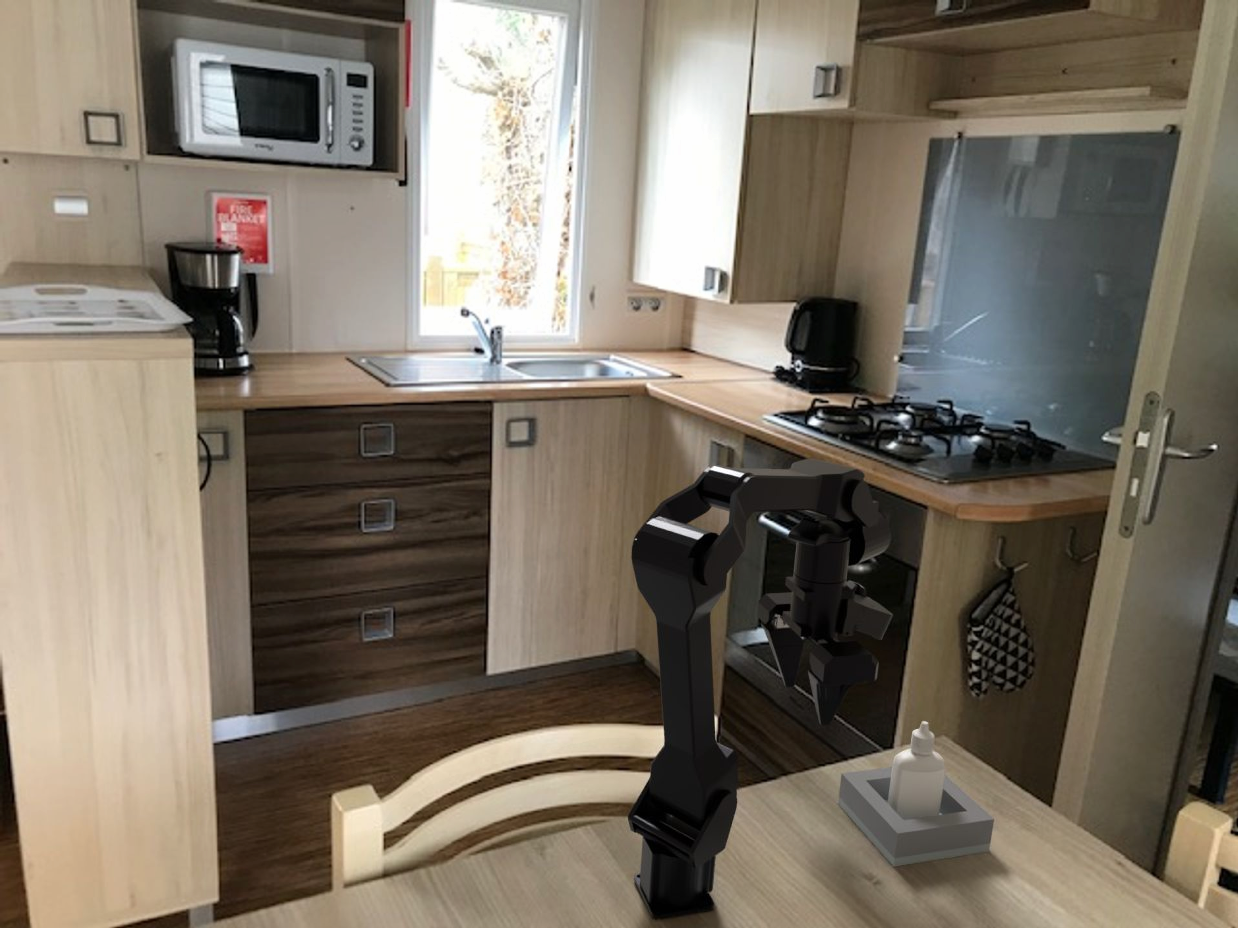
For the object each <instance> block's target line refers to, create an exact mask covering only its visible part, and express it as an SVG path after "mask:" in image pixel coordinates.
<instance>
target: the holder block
mask: <svg viewBox="0 0 1238 928" xmlns="http://www.w3.org/2000/svg"><path fill="white" fill-rule="evenodd" d="M892 767H893V766H890V767H889V766H887V767H881V768H873V769H866V770H865V769H864V770H857V771H850V772H842V773H841V775H840V782H839V783H840V784H839V791H838V792H839V793H838V802H837V804H838V805H839V807H840V808H841V809H842V810H843V811H844V812H845V814H846V815H847V816H848V817H849V818H850V819H851V820H852V821H853V823H854V824H855V825H856V826H857V827H858V828H859V829H860V831H861V832H862V833H863V834H864V836H866V837H867V839H868V840H869V841H870V842H871V843H872V844H873V845H874V847H875V848H876V849H877V850H878V852H880V853H881V855H883V857H884V858H885V859H886V860H887V862H889V863H890V865H891V866H892V867H898V866H905V865H912V864H919V863H924V862H930V861H938V860H943V859H944V860H945V859H951V858H956V857H962V856H969V855H974V854H981V853H988V852H990V849H991V841H992V835H993V830H994V825H995V824H994V822H995V818H993V817H992V815H991V814H989V813H988V812H987V811H986V810H985V809H984V808H983V807H981V805H979V803H977V802H976V801H975V800H974V799H973V798H971V797H970V795H969V794H967V793H966V792H965V791H964V790H963V789H961V787H960V786H958V785H957V784H956V783H955V781H954V782H953V780H951V778H949V777H948V776H947V775H946V774H945V778H944V785H943V792H942V799H941V806H940V813H939V815H937V816H930V817H923V818H916V819H909V820H903V819H902V818H901V817H900V816H899V815H898V814H897V813H896V812H895V811H894V810H893V808H892V807H891V806H890V805H889V804H888V797H889V789H890V782H891V774H892Z"/></svg>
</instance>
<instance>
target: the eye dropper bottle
mask: <svg viewBox="0 0 1238 928" xmlns="http://www.w3.org/2000/svg"><path fill="white" fill-rule="evenodd" d="M929 727H930V726H929V722H927V721H926V720H922V721H921V723H920V726H919V728H917V729H914V730H912V733H911V740H910V748H907V749H904V750H903V751H901V752H900V751H899V752H898V753H897V754H896V755H895V756H894V758H893V762H892V766H891V767H892V774H891V782H890V789H889V797H888V804H889V805H890V806H891V807H892V808H893V810H894V811H895V812H896V813H897V814H898V815H899V816H900V817H901V818H902V819H903V820H909V819H916V818H923V817H930V816H937V815H939V813H940V806H941V799H942V792H943V785H944V778H945V775H946V766H947V765H946V761H945V760H944V757H942V756H941V755H940V754H939V753H938V752H937V751H934V745H935V739H936V738H935V737H936V736H935V733H933V732H932V731H930V728H929Z"/></svg>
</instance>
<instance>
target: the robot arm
mask: <svg viewBox="0 0 1238 928" xmlns="http://www.w3.org/2000/svg"><path fill="white" fill-rule="evenodd" d="M865 476H866V475H865V473H864V471H863V470H861V469H859V468H856V467H852V466H846V465H841V464H837V463H834V462H829V461H824V460H821V459H816V458H811V457H810V458H805V459H802V460H798V461H795V462H792V464H791V466H790V468H786V469H785V468H783V469H782V468H750V467H749V468H748V467H744V468H743V467H728V466H726V465H721V464H716V465H711V466H708V467H706V468H705V469H704V470H703V471H702V472H701V474H700V475H699V476H698V477H697V479H696V480H695V481H694V483H692V484H691V485H689V486H687V487H685V488H683V489H682V490H680V491H677V492H676V493H675V494H673V495H671V496H669V497H668V498H666V499H664V500H663V501H661V502H660V503H659V505H658V506H657V507H656V508H655V509H654V510H653V512H652V513H651V514H650V516H649V517H648V518H647V519H646V521H645V522H644V523H643V524H642V526H641V527H640V528H639V529H638V531H637V533H636V534H635V536H634V538H633V540H632V544H631V554H630V555H631V563H632V568H633V572H634V577H635V581H636V586H637V589H638V591H639V593H640V594H641V595H642V597H643V599H644V600H645V601H646V603H647V605H648V606H649V608H650V610H651V612H653V614H654V616H655V619H656V621H655V624H656V635H657V650H658V651H657V652H658V653H657V654H658V664H659V680H660V681H659V682H660V694H661V695H660V696H661V697H660V698H661V709H662V724H663V746H662V747H661V748H660V750H659V751H658V752H657V754H656V756H655V757H654V758H653V760H652V761H651V763H650V771H649V772H650V773H649V774H650V775H649V778H648V780H647V782H646V783H645V784H644V787H643V789H642V790H641V792H640V794H639V796H638V797H637V799H636V800H635V802H634V804H633V806H632V808H631V809H630V812H629V813H628V815H627V821H628V826H629V828H630V831H631V832H633V833H634V834H636V833H637V834H638V835H640V836H641V837H642V843H641V844H642V845H641V859H640V872H636V873H634V875H633V880H634V882H635V885H636V886H637V889H638V891H639V893H640V895H641V897H642V899H643V901H644V903H645V906H646V907H647V910H648V912H649V914H650V915H651V917H652V918H653V919H655V920H656V919H657V920H658V919H664V918H665V919H666V918H671V917H677V916H678V917H679V916H682V915H684V916H685V915H688V914H695V913H702V912H707V911H712V910H715V907H716V906H715V901H714V899H713V897H712V896H711V895H710V893H711V892H713V890H714V882H715V881H714V880H715V870H716V856H717V855H719V854H720V853H722V851H724V850H725V849H726V846H727V842H728V839H729V836H730V832H731V829H732V825H733V821H734V819H735V815H736V812H737V807H738V798H737V797H738V790H737V788H738V787H741V782H740V780H739V775H738V774H739V773H738V771H739V770H738V769H739V757H738V754H737V751H736V750H734V749H732V748H730V747H728V746H726V745H724V744H722V743H720V742H717V737H716V720H715V719H716V718H715V717H716V716H715V694H714V676H713V675H714V674H713V673H714V672H713V651H712V629H711V628H712V627H711V625H712V624H711V613H712V610H713V609H714V607H715V606H716V604H717V603H718V601H719V600H720V599H721V597H722V595H723V594H724V593H725V592H726V589H727V579H728V573H729V572H730V571H731V569H732V568H733V566H734V564H735V563H736V562H737V561H738V559H739V558H740V557H741V555H742V554H743V552H744V551H745V548H746V540H747V539H746V537H747V524H748V523H747V522H748V520H749V519H750V518H751V516H752V515H753V513H756V512H757V513H759V512H760V513H763V512H793V511H797V512H798V511H800V512H801V511H804V512H808V513H812V514H816V515H820V516H823V517H826V519H825V518H818V519H815V520H814V519H812V518H806V517H802V518H801V519H800V521H799V522H798V524H796V525H795V526H793V527H792V528H791V529H790V530H789V532H788V534H787V539H789V540H791V541H793V542H794V541H795V542H796V548H795V554H794V555H795V557H794V564H793V567H794V568H793V576H786V577H785V583H784V584H785V587H787V588H788V589H789V590H790V591H791V592H774V593H765V594H764V595H763V596H762V597H761V598H760V599H759V600H758V601H757V608H756V609H757V611H756V617H757V618H759V620H760V621H761V622H760V624H761V625H760V626H761V628H762V629H763V631H764V633H765V637H766V639H767V641H768V643H769V647H770V648H771V650H772V654H773V657H774V659H775V662H776V665H777V668H778V671H779V673H780V675H781V676H780V677H781V679H782V681H783V684H784V686H785V687H786V688H793V687H795V685H796V682H797V678H798V675H799V670H800V665H801V661H802V657H803V656H802V655H803V651H804V645H805V643H806V641H808V642H810V644H811V645H813V646H814V648H813V649H812V650H811V651H810V653H809V665H810V669H809V670H807V673H808V674H807V675H808V678H809V679H808V680H809V683H810V687H811V693H812V697H813V701H814V705H815V706H814V707H815V711H816V715H817V718H818V722H819V725H820V726H822V727H823V726H830V725H831V723H832V722H833V720H834V718H835V715H836V714H837V712H838V710H839V708H840V707H841V705H842V703H843V701H844V698H845V697H846V695H847V694H848V692H850V689H851V688H852V687H854V686H855V685H856V684H865V683H866V682H874V681H876V680H877V678H878V671H879V660H878V659H877V658H876V657H875V655H874V654H872V653H871V652H870V651H869V650H868V649H867V648H865V647H864V646H863V645H862V644H861V643H860V642H858V641H857V640H852V641H851V640H850V641H848V640H847V641H839V639H838V636H839V635H841V636H843V637H849V636H850V637H852V636H854V631H856V632H859V633H862V634H865V635H869V636H872V637H873V638H874V639H876V640H877V641H878V640H880V641H881V640H883V637H884V635H885V634H886V631H887V629H888V627H889V624H890V622H891V620H892V618H893V616H894V614H893V613H892V612H890V611H889V610H888V609H887V608H886V607H884V606H882V604H880V603H879V602H877V601H875V600H874V599H872V598H871V597H868V596H867V590H866V587H864V586H863V585H862V584H860V583H859V582H855V581H853V580H847V578H848V577H847V576H848V570H849V569H848V567H851V566H855V565H858V564H861V563H862V562H865V561H867V560H869V559H872V558H874V557H876V556H879V555H881V554H882V553H884V552H885V551H886V550H887V549H888V548H889V546H890V544H891V541H892V531H891V527H890V524H889V523H888V522H889V521H888V520H887V519H886V517H885V516H884V515H883V514H882V513H881V512H879V507H880V506H879V505H880V503H879V501H878V500H877V501H876V500H873V497H872V493H871V491H870V487H869V484H868V483H867V482H866V480H865V481H864V478H865ZM712 508H714V509H715V508H716V509H719V510H723V511H727V512H728V513H729V515H728V523H727V524H726V525H725V527H724V528H723V529H722V531H721V532H720V534H718V533H717V532H713V531H712V530H707V529H704V528H701V527H697V526H694V525H692V524H689V523H690V522H692V521H694V520H696V519H698V518H699V517H701V516H703V515H704V514H707V513H708V512H709V511H710V510H711V509H712Z"/></svg>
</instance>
